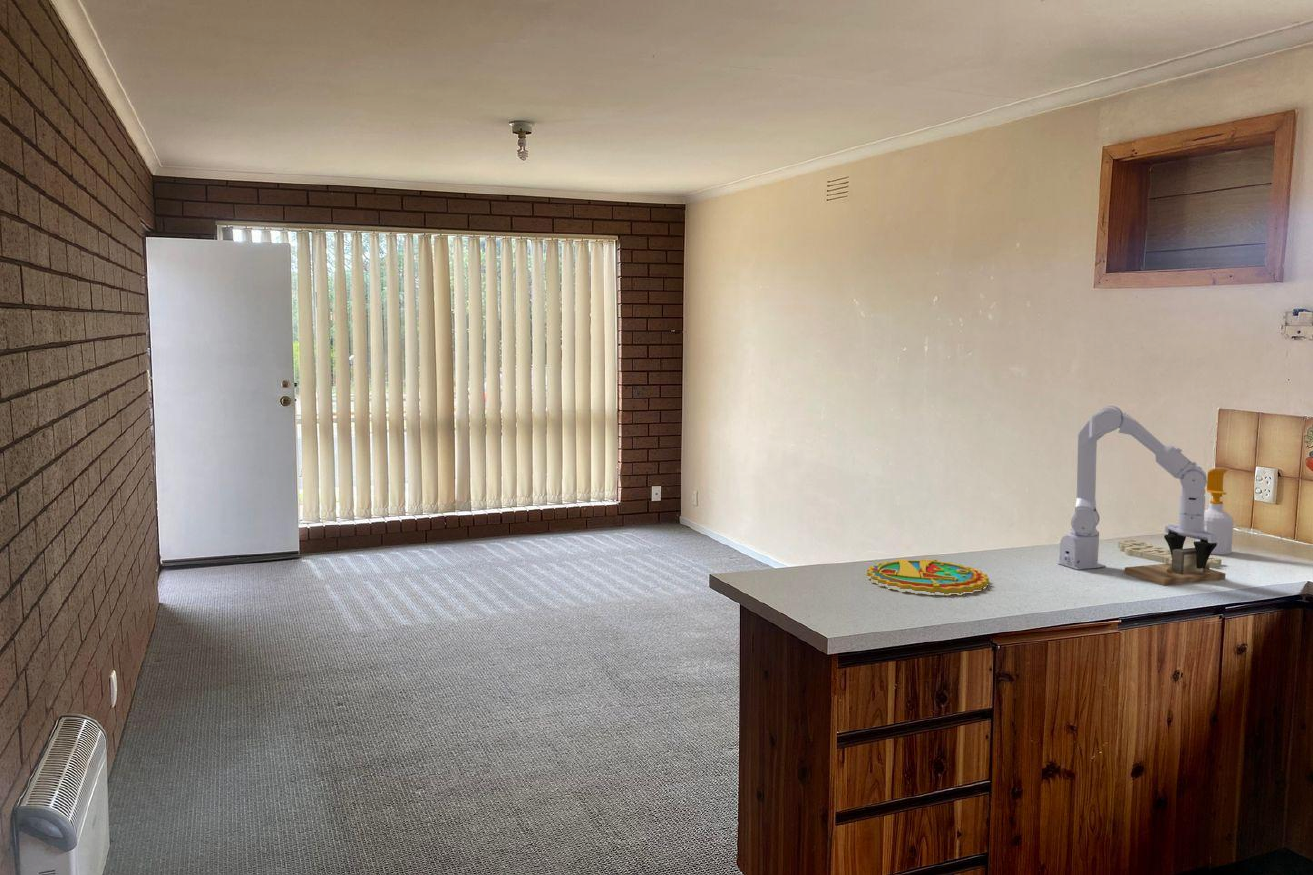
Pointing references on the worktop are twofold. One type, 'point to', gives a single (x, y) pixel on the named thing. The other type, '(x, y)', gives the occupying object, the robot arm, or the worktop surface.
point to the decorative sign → (1154, 552)
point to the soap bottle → (1218, 514)
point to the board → (1172, 574)
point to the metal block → (1185, 561)
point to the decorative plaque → (928, 576)
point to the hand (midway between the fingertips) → (1188, 564)
